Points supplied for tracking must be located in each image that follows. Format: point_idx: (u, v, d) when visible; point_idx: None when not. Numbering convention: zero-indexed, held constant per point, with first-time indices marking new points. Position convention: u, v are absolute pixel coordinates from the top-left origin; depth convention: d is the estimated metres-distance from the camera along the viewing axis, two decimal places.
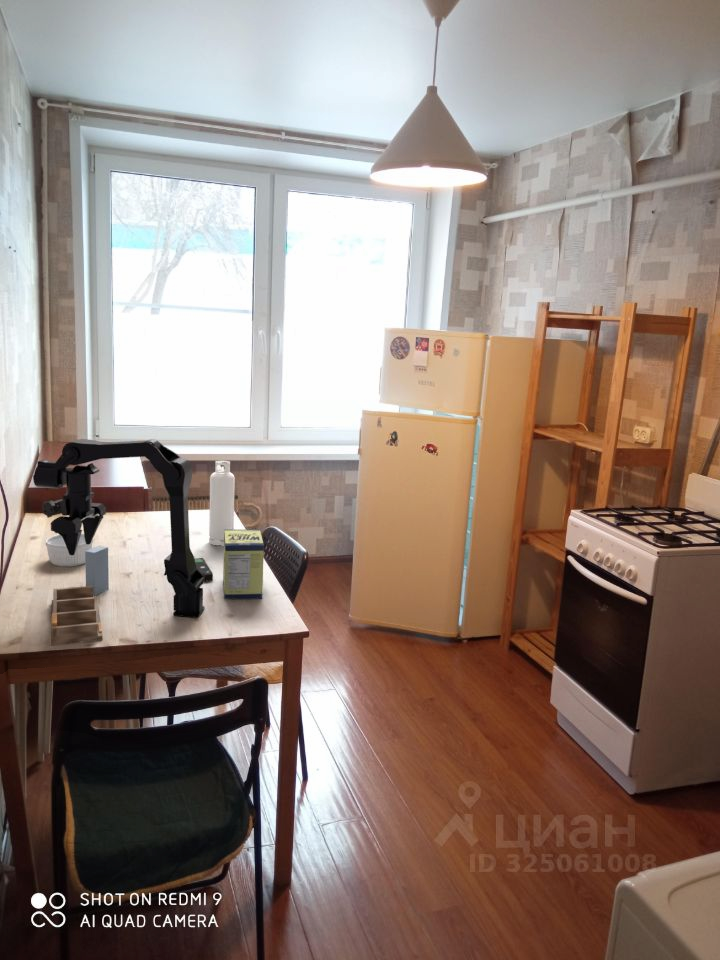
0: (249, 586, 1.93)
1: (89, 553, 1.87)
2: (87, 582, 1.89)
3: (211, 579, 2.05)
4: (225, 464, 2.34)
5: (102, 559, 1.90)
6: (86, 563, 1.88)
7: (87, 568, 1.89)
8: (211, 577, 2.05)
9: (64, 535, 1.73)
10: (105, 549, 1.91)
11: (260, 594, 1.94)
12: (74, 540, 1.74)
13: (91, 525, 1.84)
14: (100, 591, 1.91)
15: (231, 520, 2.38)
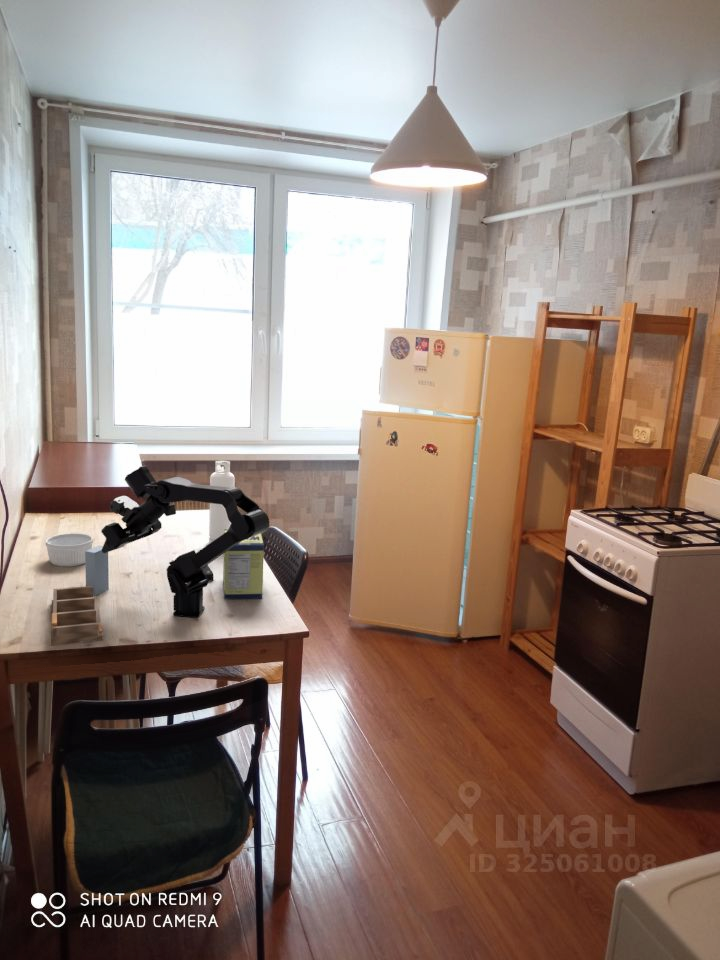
0: (249, 586, 1.93)
1: (89, 553, 1.87)
2: (87, 582, 1.89)
3: (212, 579, 2.05)
4: (225, 464, 2.34)
5: (102, 559, 1.90)
6: (86, 563, 1.88)
7: (87, 568, 1.89)
8: (212, 577, 2.05)
9: None
10: None
11: (260, 594, 1.94)
12: (112, 547, 1.81)
13: None
14: (100, 591, 1.91)
15: None
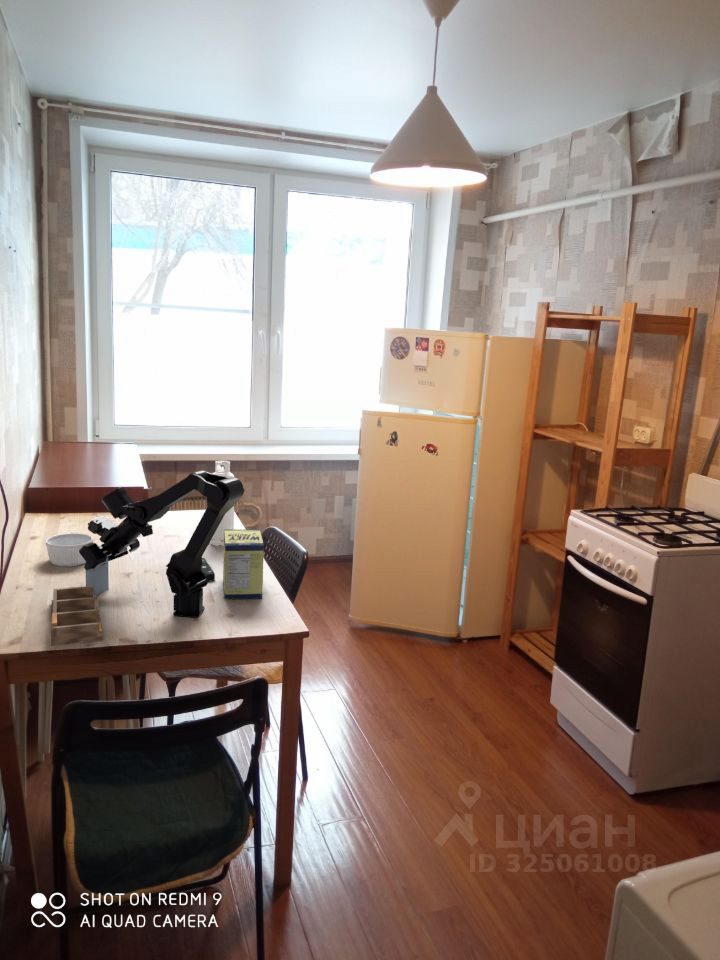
0: (249, 586, 1.93)
1: None
2: (87, 582, 1.89)
3: (213, 579, 2.06)
4: (225, 464, 2.34)
5: None
6: None
7: None
8: (213, 577, 2.05)
9: None
10: None
11: (260, 594, 1.94)
12: None
13: (113, 554, 1.92)
14: (100, 591, 1.91)
15: (231, 520, 2.38)
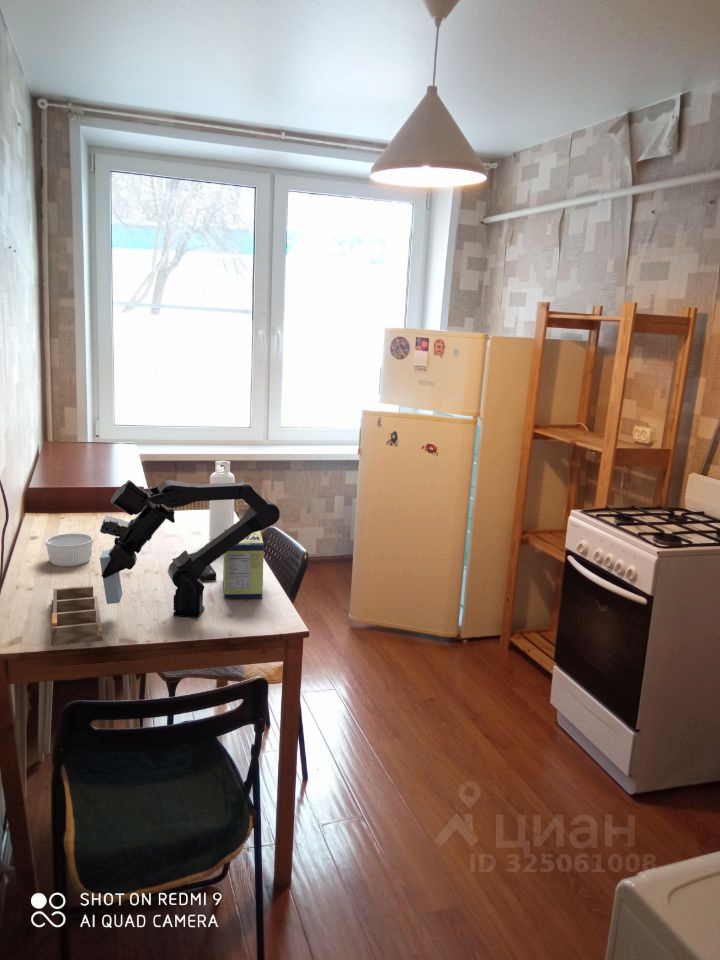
0: (249, 586, 1.93)
1: (106, 559, 1.70)
2: (106, 591, 1.72)
3: (215, 578, 2.06)
4: (225, 464, 2.34)
5: None
6: (103, 570, 1.71)
7: None
8: (215, 576, 2.06)
9: (113, 560, 1.69)
10: None
11: (260, 594, 1.94)
12: (118, 569, 1.70)
13: None
14: (120, 597, 1.75)
15: (231, 520, 2.38)
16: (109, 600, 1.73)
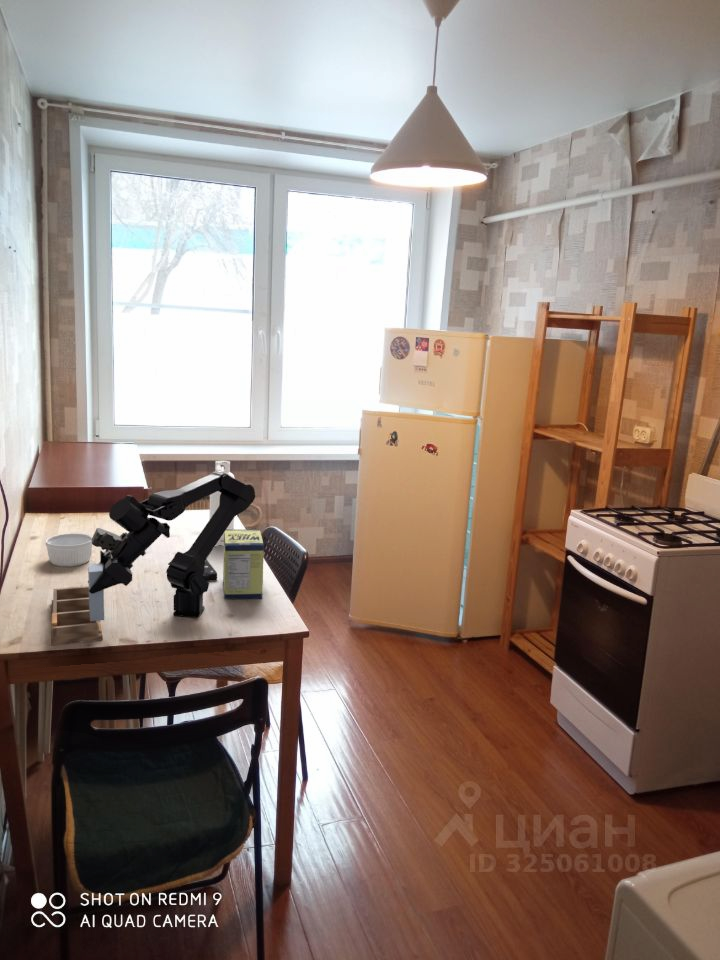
0: (249, 586, 1.93)
1: (96, 573, 1.62)
2: (92, 608, 1.63)
3: (215, 578, 2.06)
4: (225, 464, 2.34)
5: None
6: (91, 586, 1.62)
7: None
8: (215, 576, 2.06)
9: (105, 574, 1.61)
10: None
11: (260, 594, 1.94)
12: (109, 584, 1.62)
13: None
14: None
15: None
16: (93, 617, 1.64)
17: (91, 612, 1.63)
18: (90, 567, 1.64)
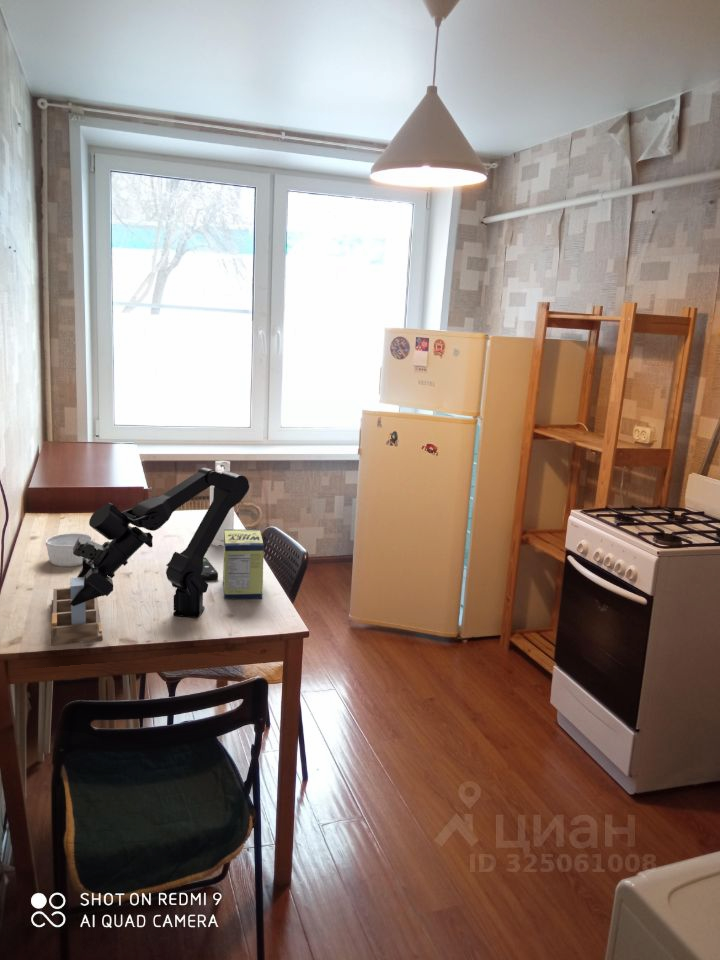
0: (249, 586, 1.93)
1: (77, 587, 1.61)
2: (74, 622, 1.62)
3: (216, 578, 2.06)
4: (225, 464, 2.34)
5: None
6: None
7: None
8: (216, 576, 2.06)
9: (86, 587, 1.58)
10: None
11: (260, 594, 1.94)
12: (90, 596, 1.59)
13: None
14: None
15: (231, 520, 2.38)
16: None
17: None
18: (72, 581, 1.63)
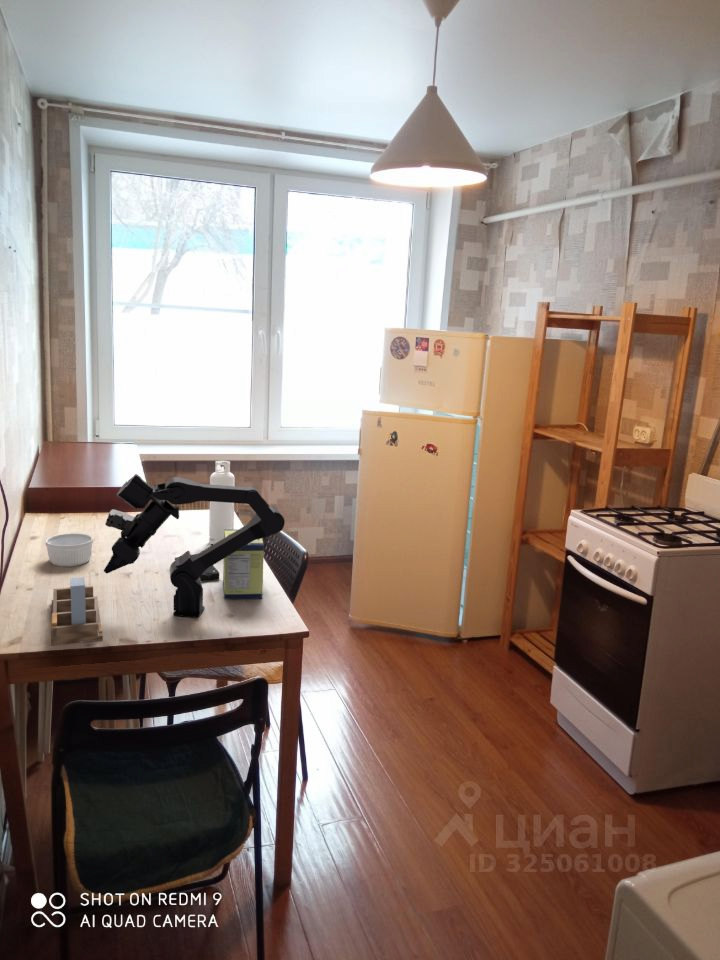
0: (249, 586, 1.93)
1: (77, 587, 1.61)
2: (74, 622, 1.62)
3: (218, 578, 2.06)
4: (225, 464, 2.34)
5: None
6: (72, 600, 1.61)
7: (74, 605, 1.62)
8: (218, 576, 2.06)
9: (115, 555, 1.69)
10: None
11: (260, 594, 1.94)
12: (120, 564, 1.70)
13: None
14: None
15: (231, 520, 2.38)
16: None
17: None
18: (72, 581, 1.63)
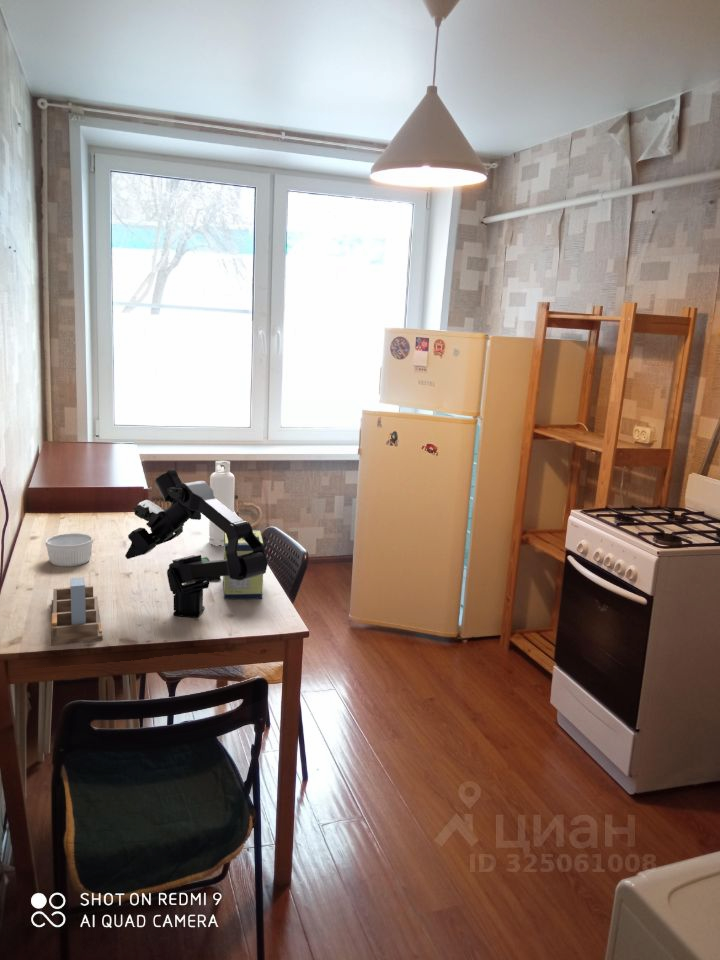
0: (249, 586, 1.93)
1: (77, 587, 1.61)
2: (74, 622, 1.62)
3: (219, 578, 2.07)
4: (225, 464, 2.34)
5: None
6: (72, 600, 1.61)
7: (74, 605, 1.62)
8: (219, 576, 2.06)
9: (134, 543, 1.77)
10: None
11: (260, 594, 1.94)
12: (137, 553, 1.77)
13: None
14: None
15: None
16: None
17: None
18: (72, 581, 1.63)
